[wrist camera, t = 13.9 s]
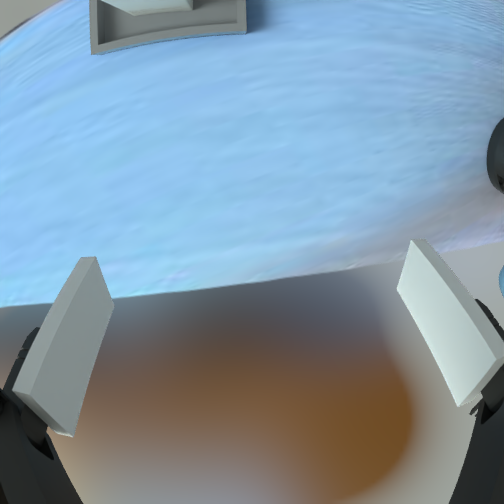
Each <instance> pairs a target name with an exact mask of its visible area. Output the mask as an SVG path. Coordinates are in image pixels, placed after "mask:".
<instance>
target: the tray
mask: <svg viewBox="0 0 504 504" xmlns="http://www.w3.org/2000/svg"><path fill="white" fill-rule="evenodd" d="M89 11H90V43H91V55H103V54H107V53H111V52H115V51H119V50H123V49H128V48H132V47H137V46H142V45H148V44H153V43H159V42H165V41H172V40H179V39H187V38H195V37H205V36H218V35H235V34H246V32H247V24H246V0H193V10H191V11H175V12H163V13H154V14H146V15H138V16H133V15H131V14H129V13H127V12H125V11H123V10H121V9H119V8H117V7H115V6H113V5H110V4H108V3H106V2H103V1H101V0H89Z"/></svg>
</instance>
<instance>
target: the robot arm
mask: <svg viewBox="0 0 504 504" xmlns="http://www.w3.org/2000/svg"><path fill="white" fill-rule="evenodd" d="M487 170H488V175H489V178H490V181H491V183H492V184H493V186H494V187H495V188H496V189H497V190H499V191H500V192H502V193H503V194H504V118H503V119H502V120H501V121H500V122H499V123H498V125H497V126H496V128H495V130H494V131H493V134H492V136H491V139H490V142H489V146H488V152H487ZM499 287H500V289H501V293H502V295H503V297H504V266H503V268H502V270H501V271H500V274H499ZM397 291H398V292H399V294H400V296H401V297H402V299H403V301H404V303H405V304H406V306H407V308H408V310H409V311H410V313H411V315H412V317H413V319H414V320H415V322H416V324H417V326H418V327H419V329H420V331H421V333H422V335H423V337H424V339H425V340H426V342H427V344H428V346H429V348H430V350H431V352H432V354H433V356H434V358H435V360H436V362H437V364H438V366H439V368H440V370H441V372H442V374H443V376H444V378H445V380H446V382H447V385H448V387H449V389H450V391H451V393H452V396H453V398H454V400H455V402H456V405H457V407H459V406H462V405H464V404H467V403H469V402H472V401H473V400H474V399H475V398H476V397H477V395H478V394H479V393H480V392H481V394H482V395H483V398H482V399H481V400H480V401H479V402H478V403H477V405H476V406H475V407H474V408H473V409H472V410H471V412H470V415H472V414H473V413H474V412H475V411H476V410H477V409H478V412H477V414H476V415H475V417H476V421H475V425H474V429H473V433H472V437H471V441H470V444H469V448H468V451H467V454H466V458H465V461H464V464H463V467H462V470H461V473H460V476H459V479H458V482H457V484H456V487H455V489H454V492H453V495H452V497H451V499H450V502H449V504H504V330H503V329H502V327H501V326H499V323H498V322H497V320H496V319H495V318H494V316H493V315H492V313H491V312H490V310H489V309H488V308H487V306H485V305H484V304H483V303H482V302H480V301H479V300H478V299H474V298H473V297H472V296H471V294H470V293H469V292H468V290H467V289H466V288H465V286H464V285H463V284H462V283H461V281H460V280H459V279H458V278H457V276H456V275H455V274H454V272H453V271H452V270H451V269H450V268H449V266H448V265H447V264H446V263H445V261H444V260H443V259H442V258H441V257H440V255H439V254H438V253H437V252H436V251H435V250H434V248H433V247H432V246H431V245H430V244H429V243H428V242H427V240H426V239H411V242H410V245H409V249H408V253H407V256H406V260H405V264H404V267H403V271H402V274H401V277H400V280H399V284H398V286H397ZM113 309H114V304H113V302H112V299H111V296H110V294H109V291H108V288H107V286H106V283H105V280H104V278H103V275H102V272H101V269H100V267H99V264H98V261H97V258H96V257H81V258H80V260H79V261H78V263H77V264H76V266H75V268H74V269H73V271H72V272H71V274H70V276H69V277H68V279H67V281H66V282H65V284H64V286H63V288H62V289H61V291H60V293H59V294H58V296H57V298H56V300H55V302H54V303H53V305H52V307H51V309H50V311H49V313H48V315H47V316H46V318H45V320H44V322H43V324H42V326H41V328H38V327H36V328H35V329H34V330H33V331H32V332H31V333H30V334H29V335H28V336H27V339H26V340H25V342H24V344H23V346H22V350H21V351H20V352H19V354H18V356H17V357H18V359H16V361H15V363H14V365H13V367H12V369H11V372H10V374H9V376H8V378H7V381H6V383H5V385H4V388H3V390H2V389H1V388H0V504H83V502H82V501H81V499H80V497H79V495H78V494H77V492H76V490H75V488H74V486H73V485H72V483H71V481H70V479H69V477H68V475H67V473H66V471H65V469H64V467H63V465H62V463H61V461H60V459H59V457H58V454H57V452H56V450H55V448H54V445H53V443H52V441H51V438H50V437H49V435H48V434H47V433H46V430H47V427H48V426H49V427H50V428H51V429H52V430H53V431H54V432H56V433H58V434H62V435H66V436H70V437H74V434H75V429H76V426H77V422H78V418H79V414H80V410H81V407H82V403H83V399H84V396H85V392H86V389H87V385H88V382H89V379H90V376H91V372H92V369H93V366H94V363H95V360H96V357H97V353H98V351H99V348H100V345H101V342H102V339H103V336H104V333H105V331H106V328H107V325H108V322H109V320H110V317H111V314H112V311H113Z"/></svg>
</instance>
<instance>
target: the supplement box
mask: <svg viewBox="0 0 504 504" xmlns="http://www.w3.org/2000/svg"><path fill="white" fill-rule="evenodd" d="M101 1H103V2H106V3H108V4H110V5H113V6H115V7H117V8H119V9H121V10H123V11H125V12H127V13H129V14H131V15H133V16H138V15H146V14H154V13H163V12H175V11H191V10H193V0H101Z"/></svg>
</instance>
